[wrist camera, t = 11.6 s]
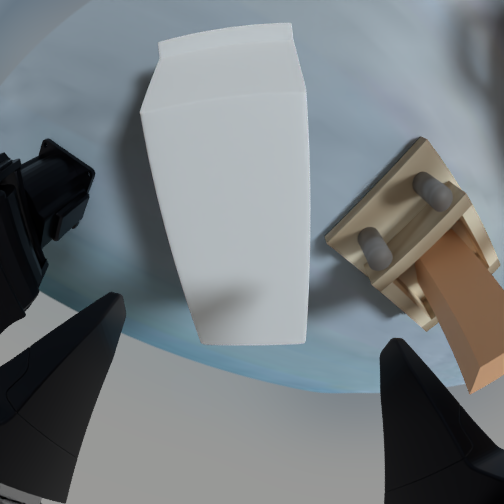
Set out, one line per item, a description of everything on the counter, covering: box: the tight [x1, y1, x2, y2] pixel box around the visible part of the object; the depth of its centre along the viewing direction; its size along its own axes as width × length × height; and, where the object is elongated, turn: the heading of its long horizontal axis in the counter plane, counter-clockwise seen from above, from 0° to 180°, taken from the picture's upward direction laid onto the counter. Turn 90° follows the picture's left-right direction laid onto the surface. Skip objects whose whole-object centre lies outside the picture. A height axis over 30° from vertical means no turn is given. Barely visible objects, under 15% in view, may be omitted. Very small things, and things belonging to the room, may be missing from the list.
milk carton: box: [140, 23, 310, 345], centre depth 16 cm, size 7×7×19 cm
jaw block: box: [415, 229, 504, 394], centre depth 15 cm, size 4×4×12 cm
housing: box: [325, 137, 500, 332], centre depth 19 cm, size 14×11×4 cm
